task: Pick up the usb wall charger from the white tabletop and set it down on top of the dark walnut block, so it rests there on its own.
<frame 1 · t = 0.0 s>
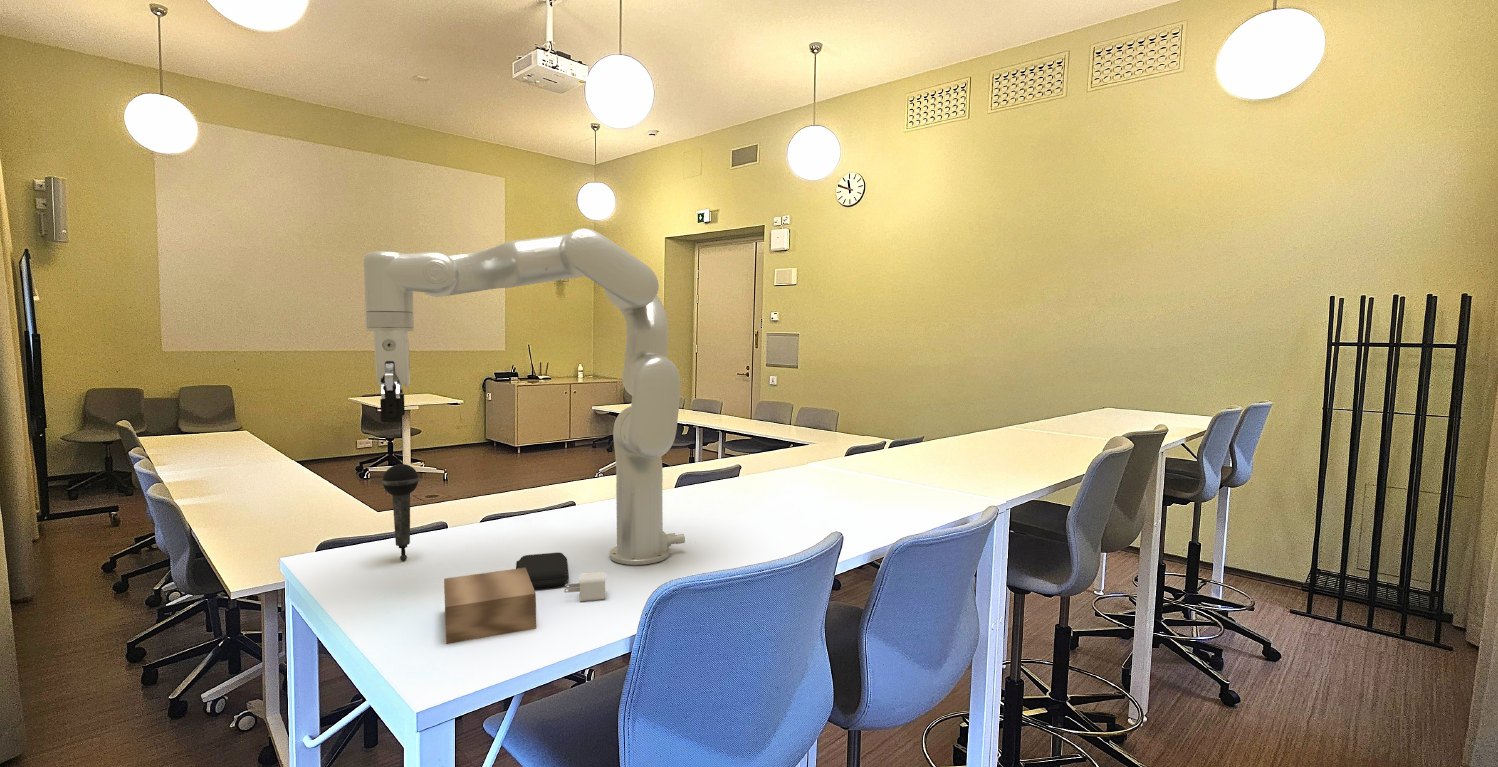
hand: (393, 418, 120), 31 cm above the table, fingers open, 9 cm apart
carrying case or bag: (539, 579, 129), on the table
usb wall charger: (585, 598, 119), on the table
walnut block: (489, 621, 110), on the table
microphone: (403, 561, 138), on the table
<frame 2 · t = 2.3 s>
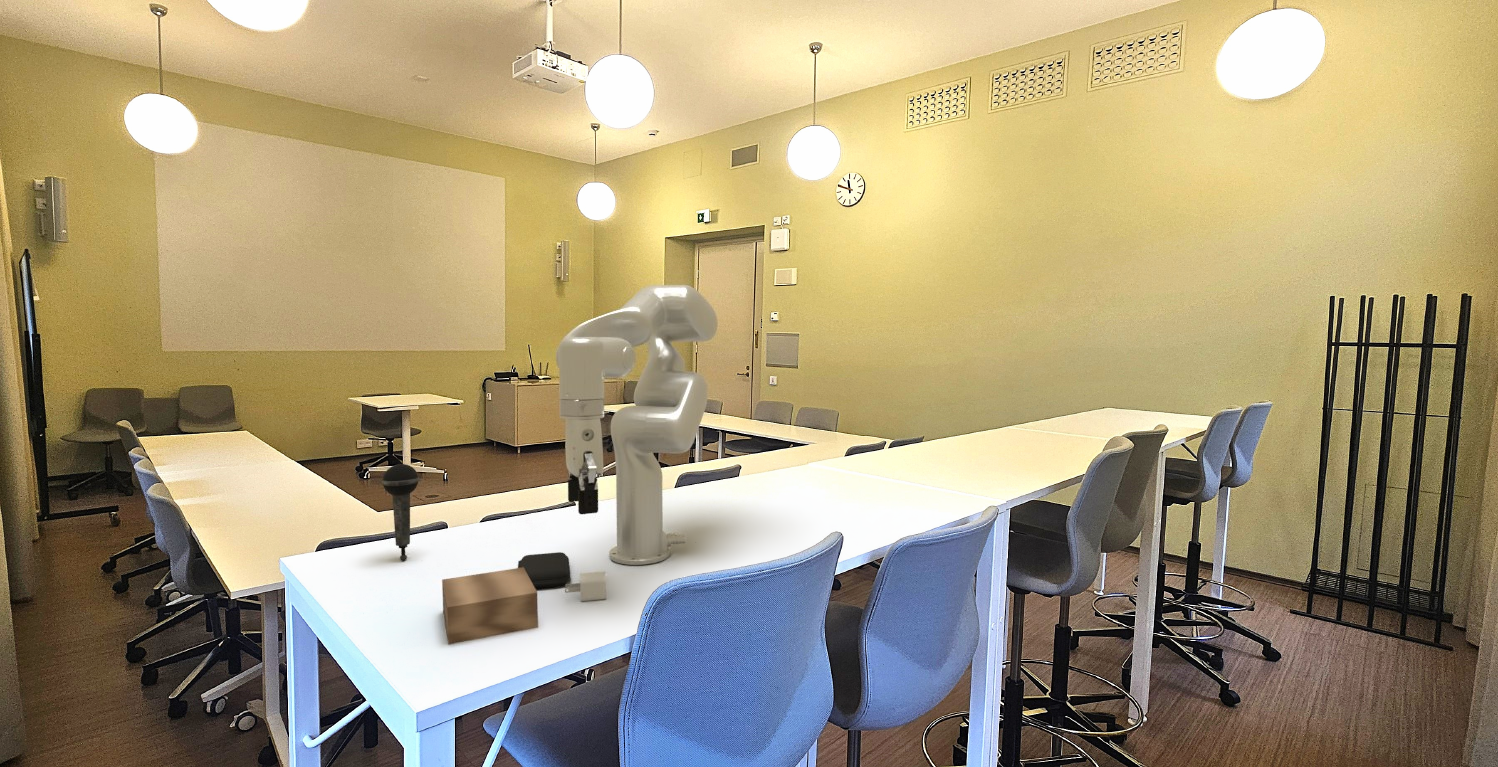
hand: (582, 506, 117), 16 cm above the table, fingers open, 9 cm apart
nothing on the table moved.
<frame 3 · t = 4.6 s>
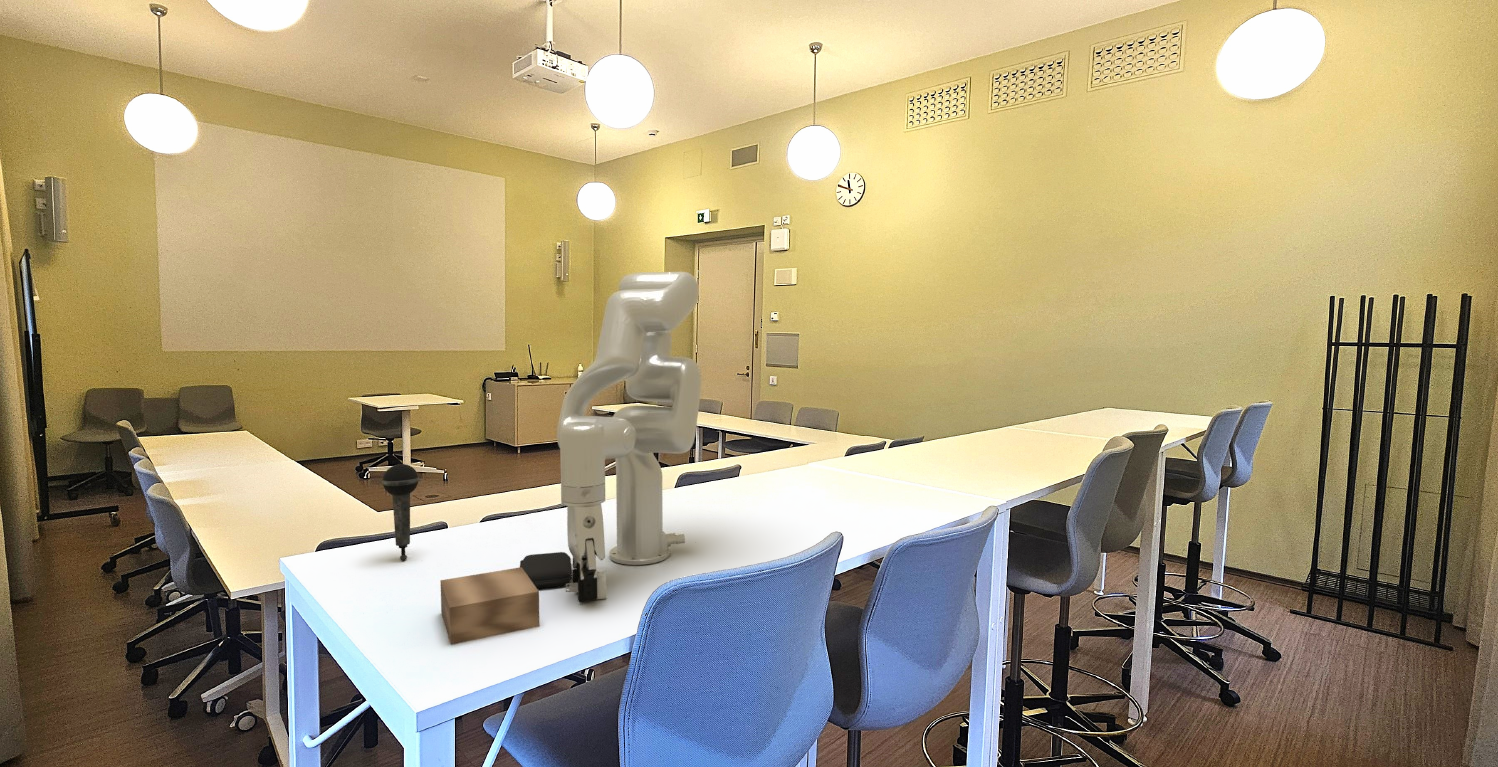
hand: (584, 594, 119), 1 cm above the table, fingers closed on usb wall charger, 4 cm apart
usb wall charger: (586, 598, 119), on the table, touching gripper
everything else where it was.
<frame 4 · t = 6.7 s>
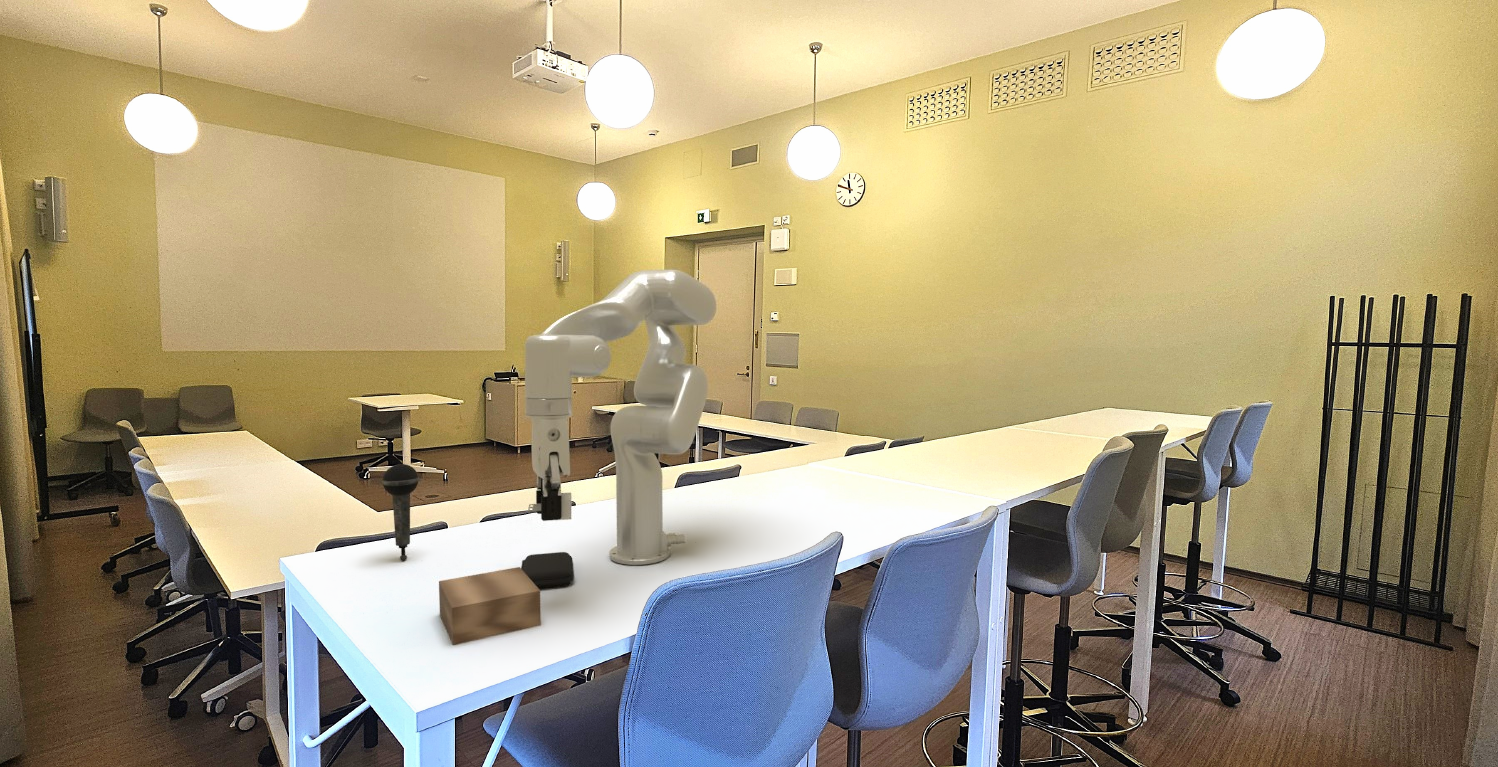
hand: (548, 515, 114), 16 cm above the table, fingers closed on usb wall charger, 4 cm apart
usb wall charger: (550, 519, 114), point 15 cm above the table, touching gripper
everything else where it was.
when the fingers open (8 cm above the table, at t = 9.0 s): usb wall charger drops 2 cm, resting on walnut block.
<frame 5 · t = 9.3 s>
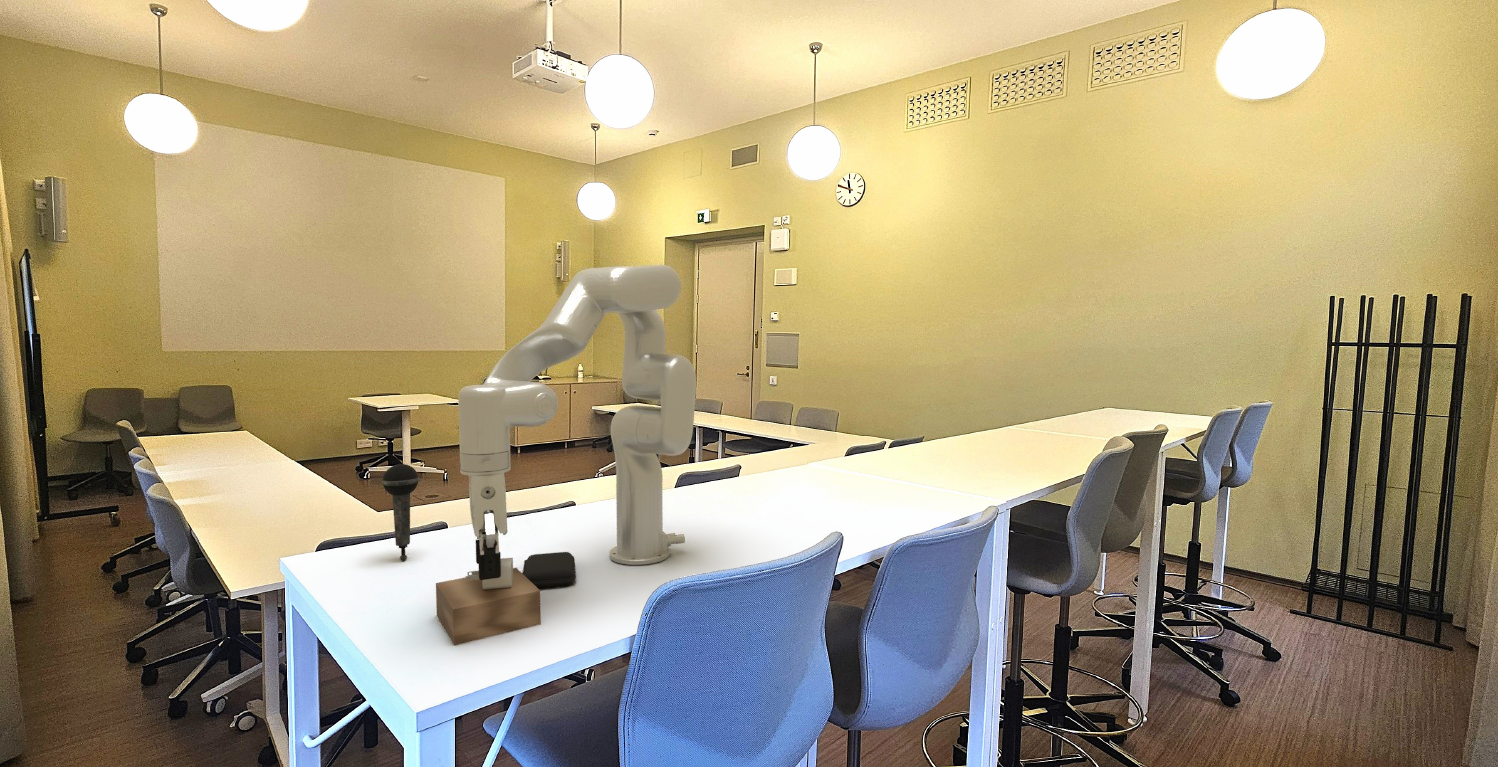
hand: (488, 569, 109), 8 cm above the table, fingers open, 7 cm apart
usb wall charger: (489, 587, 109), point 5 cm above the table, touching walnut block
walnut block: (488, 622, 110), on the table, touching usb wall charger
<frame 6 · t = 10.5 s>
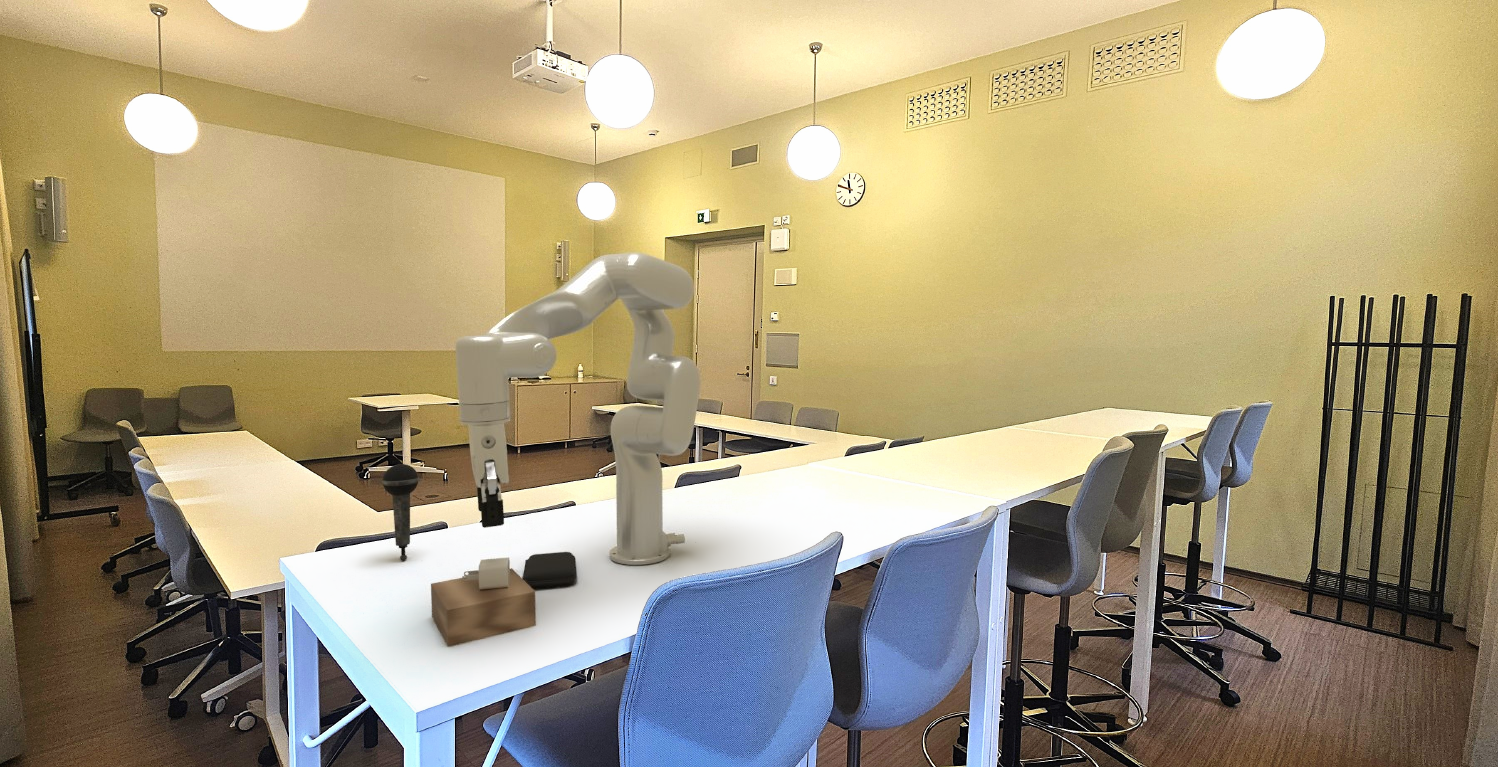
hand: (490, 517, 109), 17 cm above the table, fingers open, 9 cm apart
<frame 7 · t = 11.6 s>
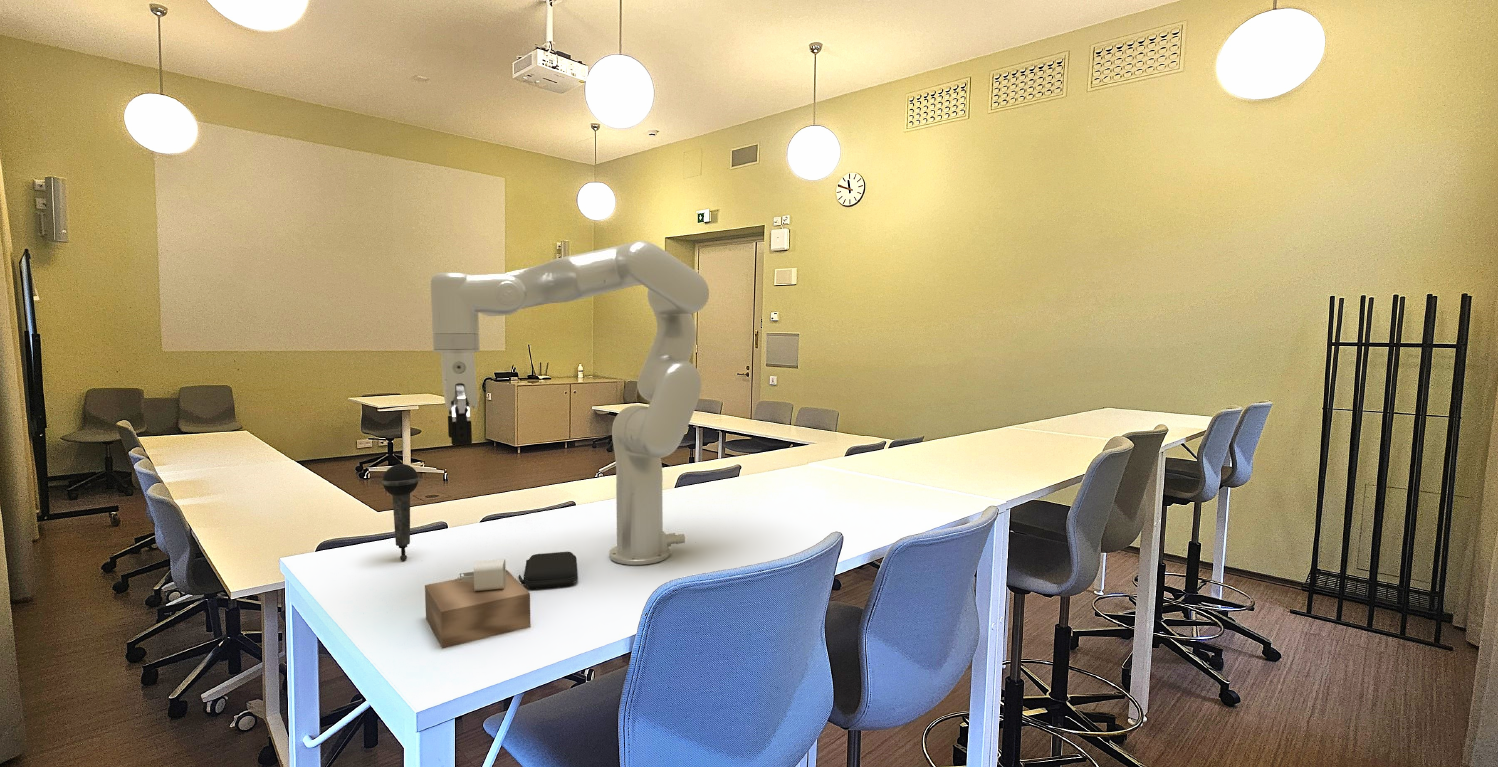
hand: (459, 440, 119), 27 cm above the table, fingers open, 9 cm apart
usb wall charger: (482, 588, 109), point 5 cm above the table
walnut block: (477, 625, 108), on the table
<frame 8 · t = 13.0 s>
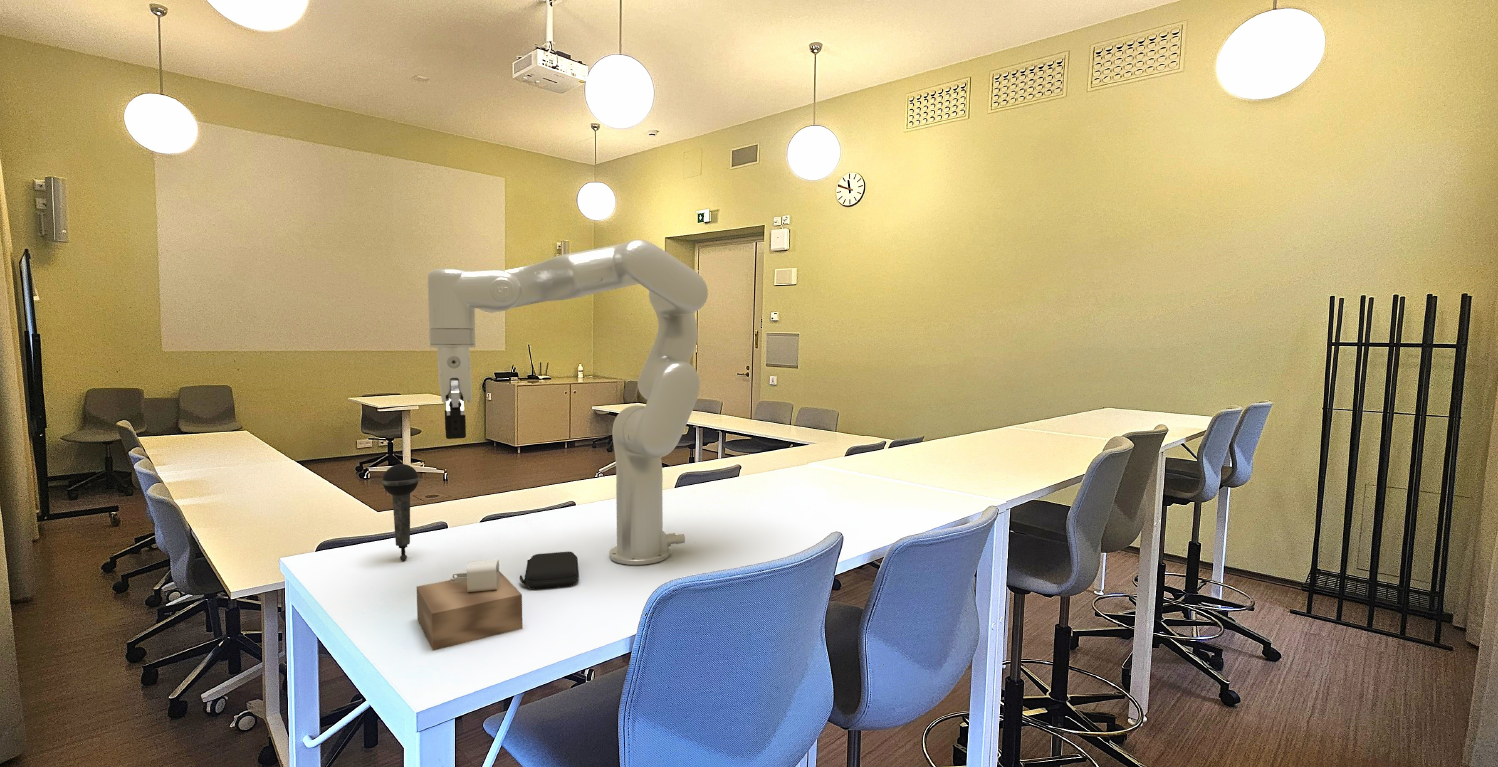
hand: (455, 434, 121), 28 cm above the table, fingers open, 9 cm apart
usb wall charger: (475, 589, 108), point 5 cm above the table, touching walnut block
walnut block: (469, 626, 108), on the table, touching usb wall charger
at the end: usb wall charger inside the target area on the walnut block (1.0 cm from its centre), point 5.8 cm above the walnut block's base; usb wall charger touching nothing; the gripper is holding nothing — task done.
